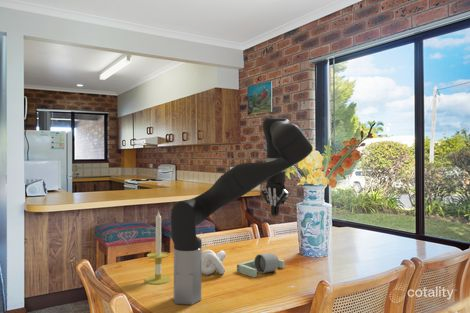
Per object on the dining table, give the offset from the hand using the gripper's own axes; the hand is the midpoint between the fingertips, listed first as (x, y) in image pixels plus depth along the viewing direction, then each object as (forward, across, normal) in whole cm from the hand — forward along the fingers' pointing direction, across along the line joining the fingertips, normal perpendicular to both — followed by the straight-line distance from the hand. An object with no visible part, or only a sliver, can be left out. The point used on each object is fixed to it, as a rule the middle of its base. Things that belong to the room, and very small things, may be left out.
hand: (274, 215), depth 139 cm
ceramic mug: (+26, +12, -8) cm, 29 cm away
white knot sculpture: (+26, +23, +10) cm, 36 cm away
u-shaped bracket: (+26, +13, -8) cm, 30 cm away
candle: (+26, +32, +31) cm, 52 cm away
